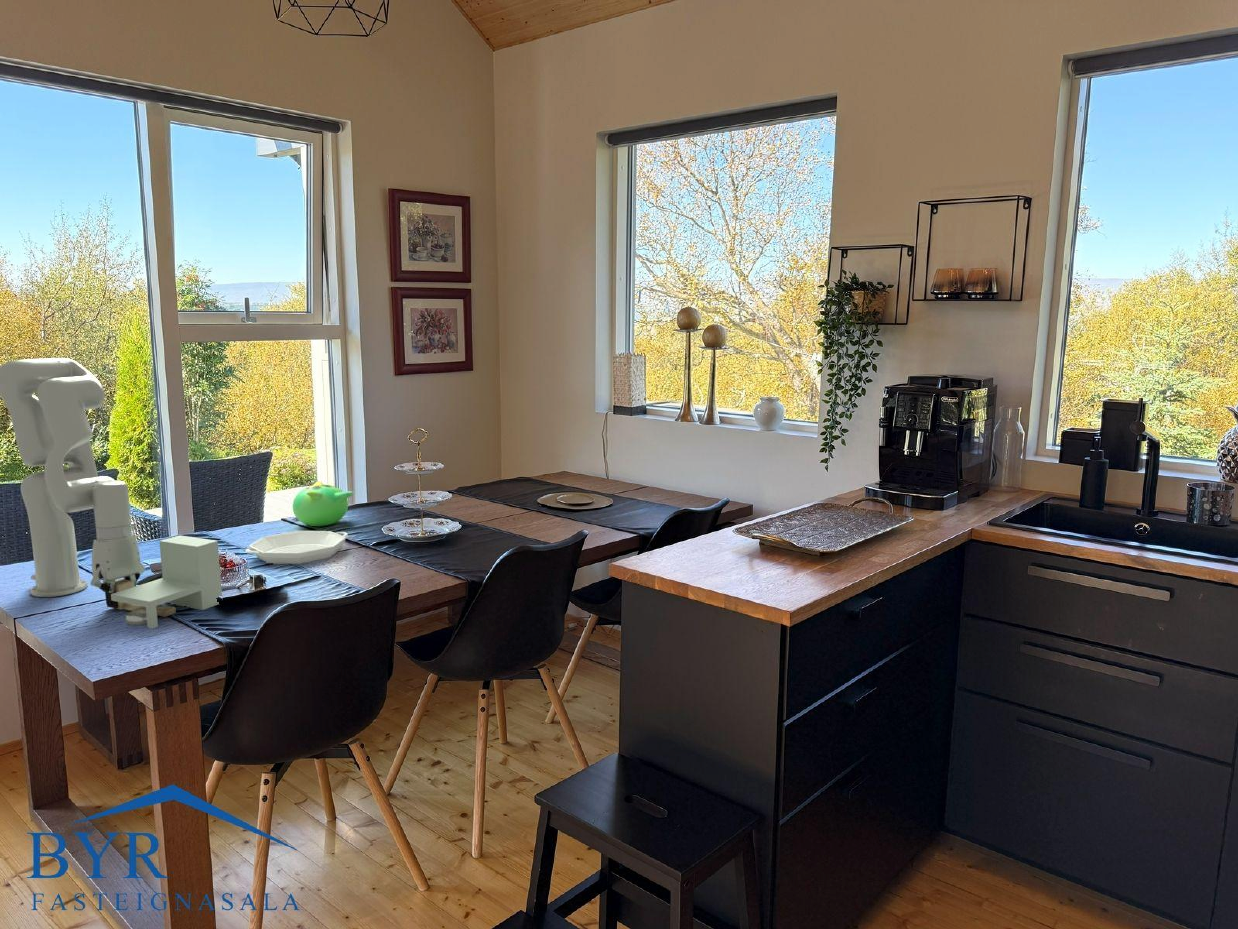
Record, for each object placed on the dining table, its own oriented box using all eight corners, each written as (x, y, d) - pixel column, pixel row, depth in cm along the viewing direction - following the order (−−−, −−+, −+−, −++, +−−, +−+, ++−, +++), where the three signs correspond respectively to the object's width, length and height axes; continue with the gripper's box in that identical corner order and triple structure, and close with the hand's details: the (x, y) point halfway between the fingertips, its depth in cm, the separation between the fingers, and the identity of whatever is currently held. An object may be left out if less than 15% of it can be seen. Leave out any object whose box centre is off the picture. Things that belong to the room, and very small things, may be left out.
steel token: (120, 623, 206) (119, 615, 205) (143, 615, 211) (142, 607, 211) (138, 627, 203) (137, 619, 203) (161, 619, 209) (160, 611, 209)
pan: (329, 538, 284) (328, 525, 283) (366, 554, 266) (366, 540, 265) (230, 556, 263) (229, 542, 262) (264, 574, 245) (262, 559, 244)
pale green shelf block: (113, 620, 208) (106, 555, 205) (185, 596, 226) (180, 535, 223) (152, 628, 202) (145, 561, 200) (222, 602, 220) (217, 540, 218)
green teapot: (338, 517, 312) (335, 476, 309) (358, 525, 299) (355, 483, 297) (287, 524, 300) (284, 482, 298) (305, 534, 288) (302, 490, 285)
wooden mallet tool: (107, 606, 215) (104, 583, 214) (121, 601, 219) (119, 578, 218) (163, 617, 208) (160, 593, 207) (177, 612, 211) (175, 588, 210)
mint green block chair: (127, 575, 235) (217, 550, 254) (129, 588, 236) (219, 562, 255) (141, 581, 230) (232, 555, 249) (143, 594, 231) (234, 568, 250)
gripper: (134, 522, 222) (140, 592, 225) (70, 538, 207) (78, 613, 210) (155, 525, 219) (161, 596, 222) (92, 541, 204) (100, 617, 207)
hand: (121, 603), depth 216 cm, fingers closed on wooden mallet tool, 4 cm apart
